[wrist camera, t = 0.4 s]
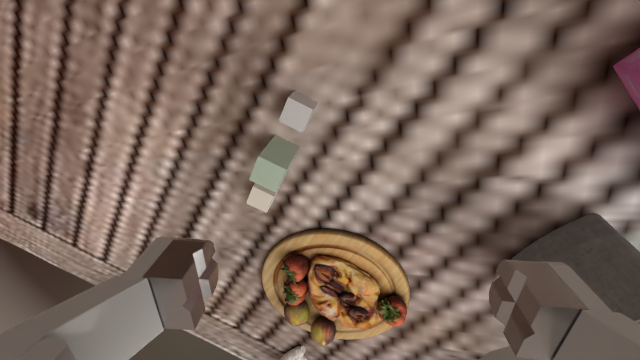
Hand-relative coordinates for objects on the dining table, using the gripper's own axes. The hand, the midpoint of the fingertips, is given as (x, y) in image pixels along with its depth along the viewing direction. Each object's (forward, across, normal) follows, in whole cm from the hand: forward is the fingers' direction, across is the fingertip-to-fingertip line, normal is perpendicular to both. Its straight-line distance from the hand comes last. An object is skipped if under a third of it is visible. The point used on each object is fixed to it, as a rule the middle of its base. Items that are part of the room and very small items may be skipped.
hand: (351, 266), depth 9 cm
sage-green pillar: (+41, +10, +13) cm, 44 cm away
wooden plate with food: (+42, 0, +44) cm, 61 cm away
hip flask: (+38, -36, +26) cm, 59 cm away
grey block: (+40, +7, +5) cm, 41 cm away
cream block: (+42, +14, +21) cm, 49 cm away
